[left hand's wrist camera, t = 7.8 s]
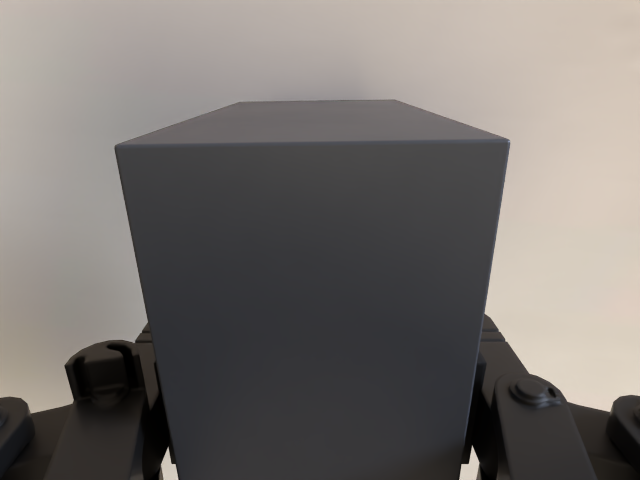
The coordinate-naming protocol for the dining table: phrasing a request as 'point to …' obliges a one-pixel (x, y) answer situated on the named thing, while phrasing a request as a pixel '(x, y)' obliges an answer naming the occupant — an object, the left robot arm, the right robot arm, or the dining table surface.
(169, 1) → the dining table surface
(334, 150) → the bar
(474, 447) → the left robot arm
